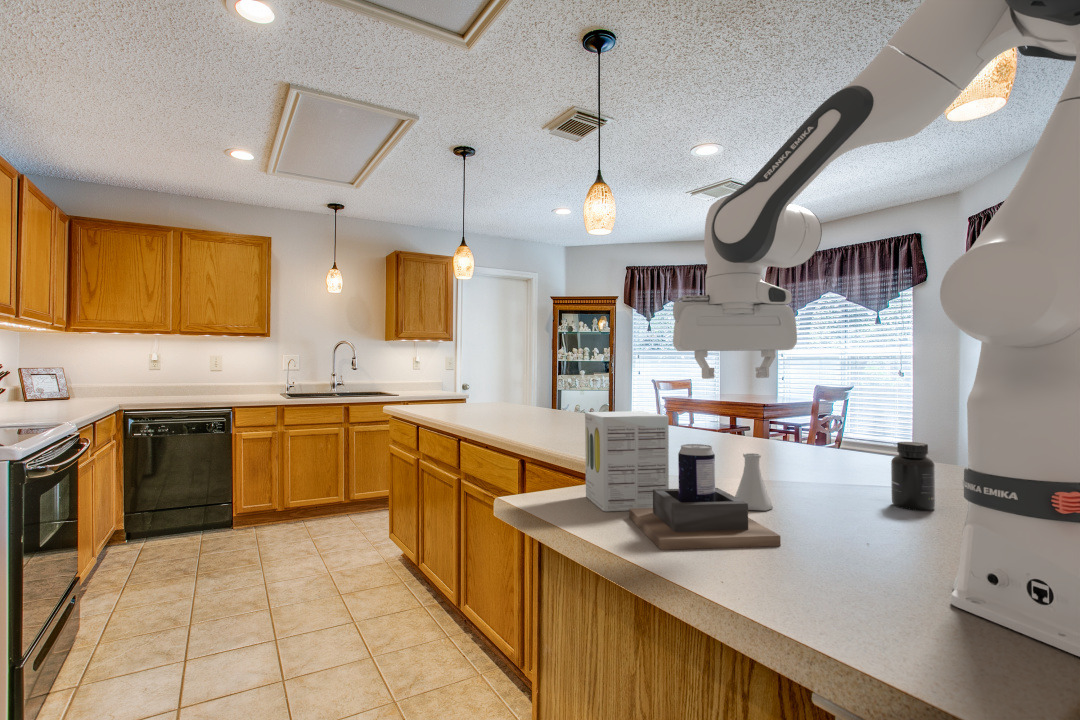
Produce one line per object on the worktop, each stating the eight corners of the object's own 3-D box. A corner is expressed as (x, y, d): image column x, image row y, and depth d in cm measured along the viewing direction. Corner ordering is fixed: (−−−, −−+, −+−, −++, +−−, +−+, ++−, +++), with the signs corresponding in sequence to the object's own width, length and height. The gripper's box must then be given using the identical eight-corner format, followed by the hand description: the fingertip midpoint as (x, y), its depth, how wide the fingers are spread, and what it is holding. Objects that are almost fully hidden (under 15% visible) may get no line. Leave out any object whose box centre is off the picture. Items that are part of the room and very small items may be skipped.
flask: (729, 509, 102) (728, 455, 103) (735, 501, 109) (735, 450, 109) (771, 513, 99) (770, 458, 99) (775, 505, 105) (774, 452, 106)
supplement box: (584, 496, 113) (583, 411, 114) (644, 493, 116) (644, 410, 116) (602, 512, 100) (602, 416, 101) (670, 509, 103) (670, 415, 103)
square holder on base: (780, 545, 80) (780, 508, 81) (660, 549, 79) (660, 511, 79) (727, 514, 98) (727, 483, 98) (629, 517, 97) (628, 485, 97)
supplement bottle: (883, 504, 105) (882, 442, 105) (905, 501, 108) (904, 440, 108) (921, 513, 99) (919, 446, 99) (943, 509, 102) (942, 444, 102)
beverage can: (711, 516, 91) (710, 443, 92) (718, 525, 86) (718, 448, 86) (676, 515, 92) (675, 443, 92) (681, 524, 86) (681, 448, 87)
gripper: (679, 292, 87) (681, 379, 87) (801, 292, 90) (803, 377, 89) (666, 298, 94) (668, 379, 93) (780, 298, 96) (782, 377, 95)
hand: (735, 378), depth 91 cm, fingers open, 8 cm apart
